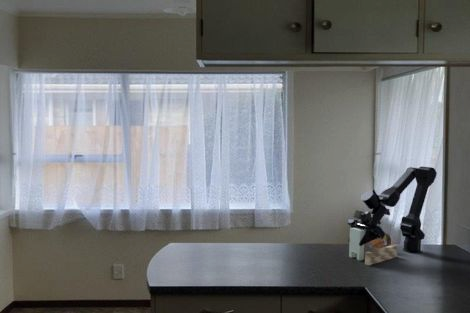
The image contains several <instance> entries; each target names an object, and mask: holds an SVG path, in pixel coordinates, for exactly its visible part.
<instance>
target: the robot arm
mask: <svg viewBox="0 0 470 313" xmlns="http://www.w3.org/2000/svg"><path fill="white" fill-rule="evenodd" d="M437 174H438V173H437V171H436V168H435V167H430V166H420V167H412V166H411V167H407V168H406V169H405V171H404V173H403V174H402V175H401V176H400V177H399V179H398V180H397V181H395V182H394V183H393V185H392V186H390V187H388V188H387V189H384V190H383V191H382V192H380V194H377V192H376V191H375V189H372V188H370V189H369V190H367V191H365V192H363V193H362V194H361V195H360V199H361V201H362V202H363V204H364V205H365V206H366V207H367V208H368V209H369V210H370V211H368V210H366V211H363V210H362V211H361V210H357V209H356V210H355V211H354V214H353V218H349V219H348V220H347V222H346V223H347V225H348V226H349V227H350V228H357V229H361V230H364V231H365V235H364V237H363V238H362V239H361V241H360V243H359V245H360V246H362V245H364V246H365V245H367V244H366V243H368V242H370V241H372V240H375V239H378V238H380V239H383V238H384V236H385V233H386V232H385V231H384V229H383V228H382V227H381V226H380V225H382V222H381V221H382V219H383V218H384V217H385V216H391V212H390V208H394V207H395V206H397V204H398V202H399V201H400V199H401V194H402V193H403V192H404V191H405V190H406V189H407V188H408V187H409V185H410V184H411V183H412V182H413V181H414V180H415V182H416V187H415V190H414V194H413V197H412V200H411V205H410V207H409V210H408V211H409V212H408V213H407V215H406V216H402V217H401V221H400V222H399V223H400V224H399V225H400V227H399V229H400V231H401V235H402V237H404V240H403V248H402V250H403V251H404V252H407V253H410V254H411V253H423V250H422V247H421V246H422V240H425V237H426V234H425V232H424V231H423V230H422V222H421V218H420V217H421V214H422V210H423V207H424V203H425V200H426V197H427V193H428V190H429V187H431V186H432V185H433V183H434V182H435V179H436V178H437ZM388 207H390V208H388ZM354 218H356V219H354ZM377 237H378V238H377ZM347 241H348V243H349V242H350V235H349V238H348V240H347Z"/></svg>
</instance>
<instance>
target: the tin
mask: <svg viewBox="0 0 470 313" xmlns="http://www.w3.org/2000/svg"><path fill="white" fill-rule="evenodd" d="M377 238H378V237H377ZM365 245H367V247H368V248H370V249H372V250H375V249H379V248H383V247H386V246H390V245H392V239H391V236H390V235H389V233H387V232H385V236H384V238H383V239H380V238H378V239H375V240H372V241H370V242H368V243H366V244H365Z"/></svg>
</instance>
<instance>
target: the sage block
mask: <svg viewBox="0 0 470 313" xmlns="http://www.w3.org/2000/svg"><path fill="white" fill-rule="evenodd" d="M365 233H366V230H363V229H362V230H361V229H357V228H351V227H350V228H349V236H350V242H349V241H348V243H349V247H348V250H349V251H348V257H349V258H356V260H357V261H365V244H364V245H362V246H360V245H359V243H360V241H361V239H362V238H363V237H364V235H365Z"/></svg>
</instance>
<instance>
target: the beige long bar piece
mask: <svg viewBox="0 0 470 313" xmlns="http://www.w3.org/2000/svg"><path fill="white" fill-rule="evenodd" d="M372 250H373V251H364V265H365V266H372V265H374V264H378V263H382V262H384V261H388V260H391V259H395V258H398V245H397V244H391V245H390V246H386V247H383V248H379V249H372Z"/></svg>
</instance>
